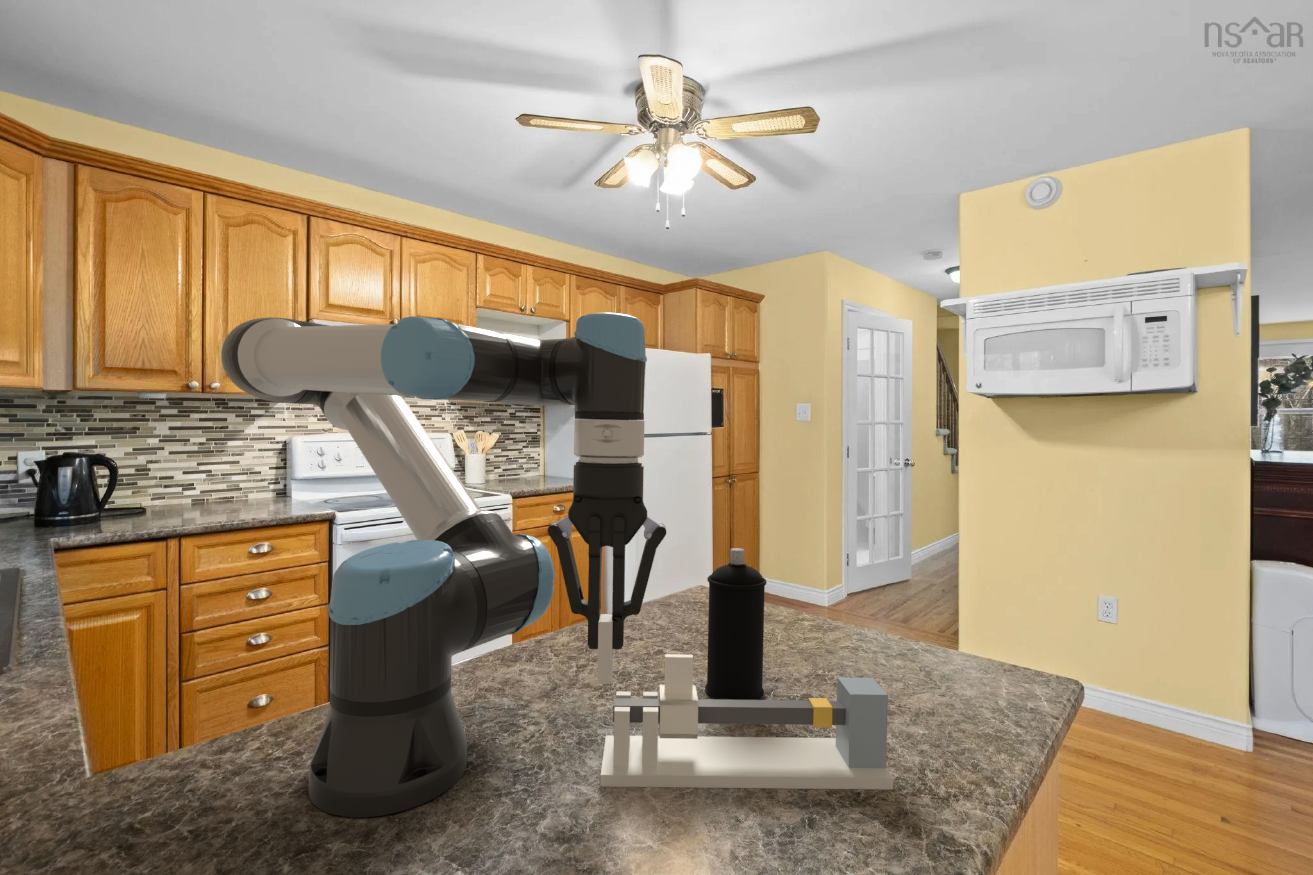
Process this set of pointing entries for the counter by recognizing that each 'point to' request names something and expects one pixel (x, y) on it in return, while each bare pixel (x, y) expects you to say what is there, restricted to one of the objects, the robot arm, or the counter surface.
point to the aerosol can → (735, 631)
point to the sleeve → (678, 699)
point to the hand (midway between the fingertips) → (605, 677)
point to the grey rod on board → (755, 744)
